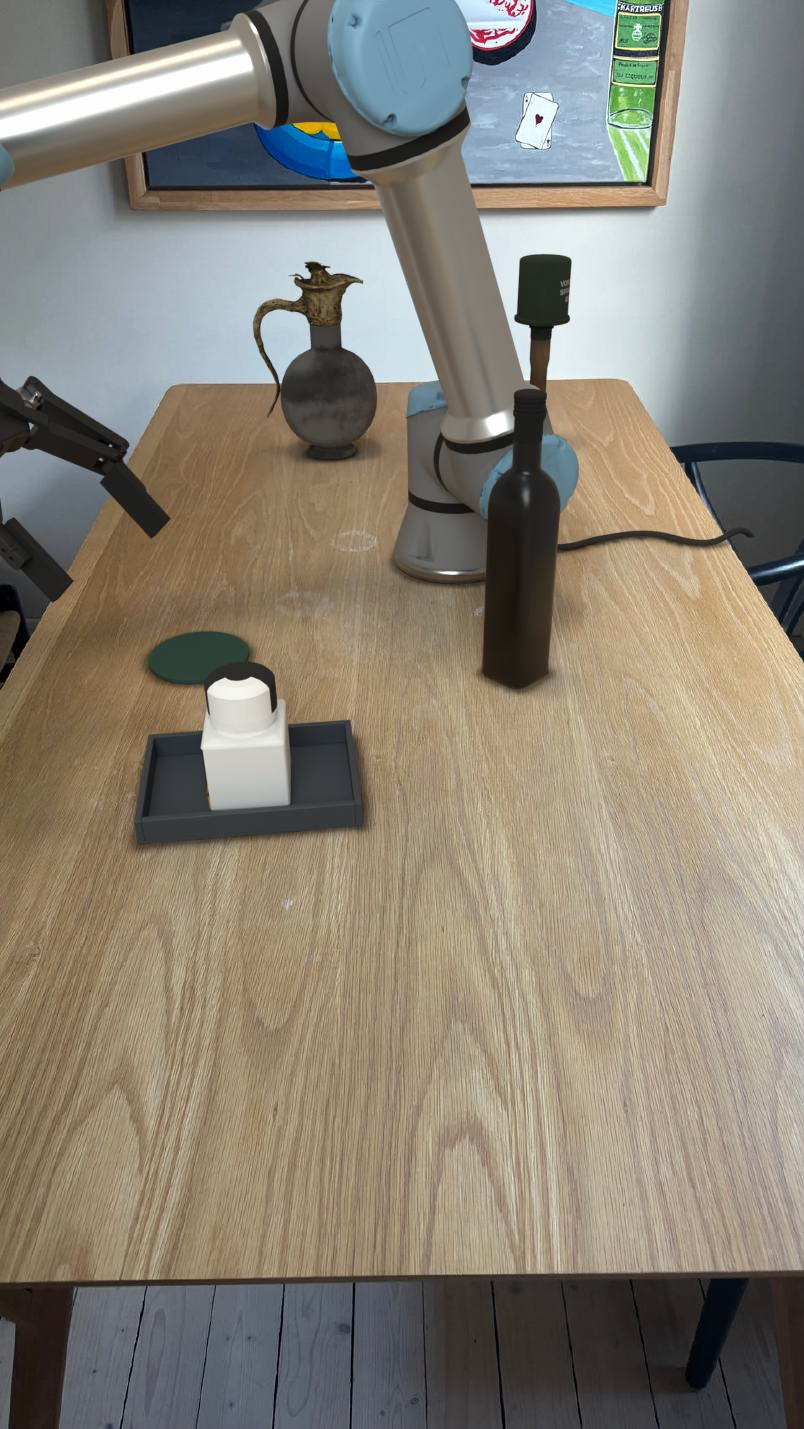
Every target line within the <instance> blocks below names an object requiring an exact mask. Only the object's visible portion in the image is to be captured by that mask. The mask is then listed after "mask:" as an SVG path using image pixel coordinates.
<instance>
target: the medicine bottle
mask: <svg viewBox="0 0 804 1429" xmlns="http://www.w3.org/2000/svg"><path fill="white" fill-rule="evenodd" d="M203 688H204V689H203V690H204V696H205V702H206V706H205V707H206V708H205V715H204V721H203V729H202V731H203V735H202V743H201V753H202V760H203V767H204V774H205V781H206V787H207V794H208V801H209V808H210V810H211V811H224V810H236V809H248V808H261V807H273V806H286V805H290V803H291V755H290V743H289V732H288V724H289V722H288V711H287V709H288V708H287V702H286V700H285V699H282V698H279V699H278V697H277V696H278V695H277V694H278V693H277V684H276V676H275V674H274V672H273V671H272V670H271V669H269V667H267V666H266V665H264V664H261V663H259V662H254V661H247V662H233V663H228V664H225V665H222V666H220V667H218V668H216V669H214V670H213V671H212V672H211V673H210V674H209V675H208V676H207V677H206V679H205V681H204V683H203Z"/></svg>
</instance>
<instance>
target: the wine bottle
mask: <svg viewBox="0 0 804 1429" xmlns="http://www.w3.org/2000/svg"><path fill="white" fill-rule="evenodd" d="M547 399H548V394H547V391H546V392H545V391H543V390H538V389H521V390H517V391H516V392H515V393H514V410H513V416H514V436H513V440H514V441H513V459H512V467H511V468H510V469H509V470H507V471H506V472H505V473H504V474H503V475H502V476H501V477H499V478H498V479H497V481H496V483H495V484H494V486H493V487H492V490H491V493H490V496H489V501H488V518H487V546H486V573H485V579H484V602H483V604H484V605H483V633H482V658H481V672H482V674H484V675H485V676H486V677H488V678H490V679H492V680H494V681H497V682H498V683H501V684H503V685H504V686H507V687H509V688H512V689H515V690H519V689H522V688H526V687H527V686H528V685H531V684H532V683H534V682H536V681H537V680H539V679H540V678H542V677H545V675H547V674H548V672H549V664H550V650H551V636H552V626H553V625H552V623H553V610H554V598H555V597H554V596H555V585H556V571H557V560H558V559H557V557H558V550H557V547H558V544H559V533H560V521H561V520H560V519H561V513H560V508H561V503H560V496H559V492H558V487H557V485H556V484H555V482H554V480H553V479H552V478H551V477H550V476H549V474H548V473H546V472H545V471H544V470H543V469H542V468H541V453H542V439H543V422H544V417H545V415H546V410H545V409H546V407H547ZM545 405H546V406H545Z"/></svg>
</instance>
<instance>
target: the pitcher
mask: <svg viewBox="0 0 804 1429" xmlns="http://www.w3.org/2000/svg"><path fill="white" fill-rule="evenodd" d="M303 264H305V265H304V268H305V269H307V270H308V272H309V274H310V277H308V278H305V277H304V276H302V275H301V274H299V273H294V274H289V275H288V277H294V280H293V284H294V285H295V286H296V287H297V288H300V290H301V291H302V292H301V296H300V297H299V298H298V299H297V300H287V299H283V298H271V299H269V300H266V301H264V302H263V303H261V304H260V305H259V306H258V308H257V310H256V312H255V314H254V316H253V320H252V332H253V333H252V334H253V338H254V340H255V343H256V346H257V348H258V351H259V355H260V356H261V358H262V359H263V361H264V363H265V365H266V367H267V369H268V370H269V372H270V373H271V375H272V378H273V381H274V383H275V385H276V387H275V395H274V399H273V402H272V403H271V405H270V408H269V409H268V412H267V419H269V417H270V416H271V414H272V413H273V411H274V409H275V406H276V404H277V403H278V399H279V397H280V406H281V410H282V414H283V417H284V419H285V422H286V423H287V425H288V427H289V429H290V430H291V432H293V433H294V435H295V436H296V437H298V438H299V439H300V440H302V441H303V442H305V443H307V444H309V446H308V449H307V453H308V455H309V456H310V457H311V458H314V459H319V460H331V461H333V460H340V459H345V458H349V457H351V456H353V455H355V453H356V446H355V445H354V444H353V443H354V442H356V441H358V440H359V439H361V437H363V436H364V435H365V434H366V433H367V432H368V430H369V429H370V427H371V426H372V423H373V422H374V419H375V416H376V411H377V408H378V407H377V406H378V392H377V390H378V389H377V385H376V381H375V378H374V375H373V373H372V371H371V369H370V367H369V365H368V364H367V363H366V362H365V361H364V360H363V358H362V357H361V356H359V355H358V354H356V352H353V351H351V350H348V349H346V348H344V347H343V344H342V320H343V310H342V309H343V308H342V302H343V297H344V295H345V293H346V292H347V289H348V288H349V287H350V286H351V285H353V284H361V285H363V284H364V280H363V279H360V278H359V277H356V276H354V275H350V274H348V273H344V272H340V273H339V272H338V273H332V274H331V273H330V272H328V270H326V269H330V268H332V267H331V265H325V264H323V263H322V262H321V263H320V262H318V261H314V260H313V261H304V263H303ZM277 310H281V311H285V312H289V313H298V314H301V315H303V316H304V317H305V318H306V321H307V323H308V325H309V339H310V348H309V349H307V350H305V351H303V352H302V353H300V354H298V355H297V356H295V358H293V360H291V362H290V363H289V365H288V366H287V367H286V369H285V372H284V373H283V376H282V379H281V383H280V378H279V375H278V372H277V370H276V369H275V366H274V364H273V363H272V361H271V359H270V357H269V356H268V354H267V352H266V350H265V345H264V344H265V343H264V342H263V338H262V333H261V332H262V331H261V329H262V328H261V326H262V321H263V319H264V317H265V316H266V315H268V314H269V313H271V312H274V311H277Z"/></svg>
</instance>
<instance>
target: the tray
mask: <svg viewBox="0 0 804 1429" xmlns="http://www.w3.org/2000/svg"><path fill="white" fill-rule="evenodd" d="M288 732H289V743H290V755H291V803H290V805H286V806H273V807H261V808H248V809H236V810H224V811H211V810H210V808H209V801H208V794H207V787H206V781H205V774H204V767H203V760H202V753H201V743H202V735H203V730H193V731H177V732H176V731H175V732H165V733H162V732H161V733H151V734H150V733H149V734H147V741H146V746H145V753H144V758H143V764H142V771H141V776H140V782H139V789H138V794H137V795H138V796H137V800H136V801H137V802H136V807H135V814H134V818H133V823H134V829H135V834H136V839H137V845H149V844H163V843H173V842H187V841H197V840H199V841H200V840H210V839H221V838H233V837H234V838H235V837H245V836H246V837H247V836H256V835H259V836H260V835H269V834H281V833H282V834H283V833H295V832H306V831H317V830H318V831H319V830H329V829H340V828H343V829H344V828H354V827H363V826H364V823H363V820H364V819H363V818H364V817H363V801H362V794H361V787H360V780H359V774H358V773H359V770H358V764H357V757H356V751H355V750H356V749H355V743H354V736H353V727H352V721H351V719H341V720H340V719H339V720H327V721H313V722H312V721H311V722H300V723H288Z"/></svg>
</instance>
